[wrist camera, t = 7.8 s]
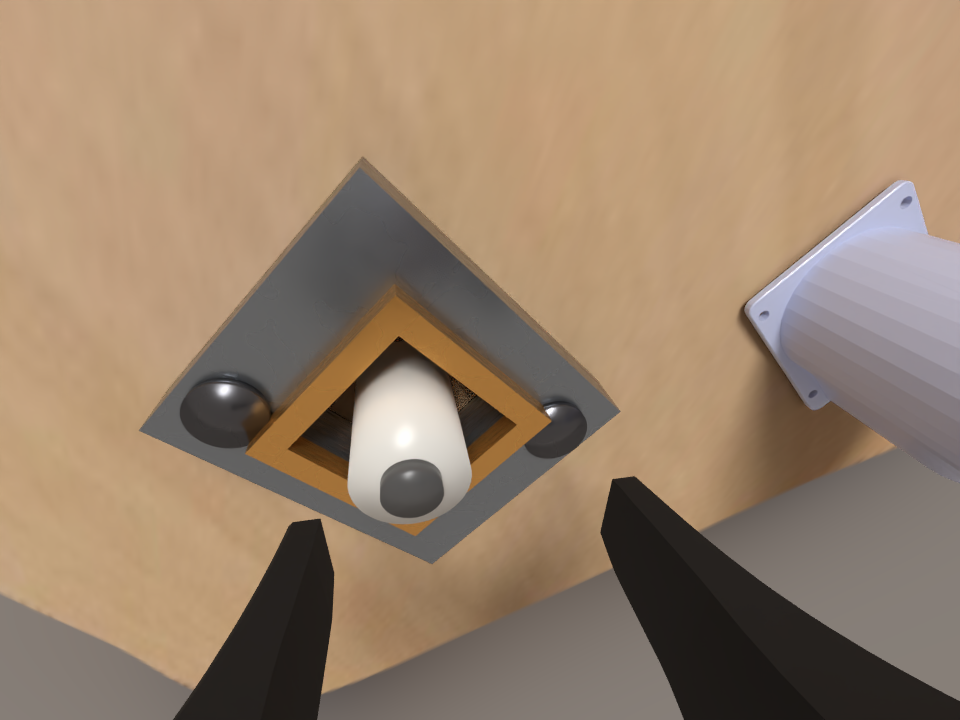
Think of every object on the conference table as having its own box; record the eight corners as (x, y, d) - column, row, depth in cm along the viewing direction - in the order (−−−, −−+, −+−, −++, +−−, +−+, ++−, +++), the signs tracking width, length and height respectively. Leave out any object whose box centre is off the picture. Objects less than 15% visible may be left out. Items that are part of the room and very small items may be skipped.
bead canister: (467, 377, 20) (499, 486, 15) (405, 431, 21) (414, 554, 16) (400, 323, 18) (409, 425, 13) (336, 385, 19) (318, 506, 14)
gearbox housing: (597, 380, 22) (631, 426, 19) (427, 523, 25) (434, 582, 22) (362, 156, 15) (358, 172, 12) (167, 390, 18) (125, 450, 15)
